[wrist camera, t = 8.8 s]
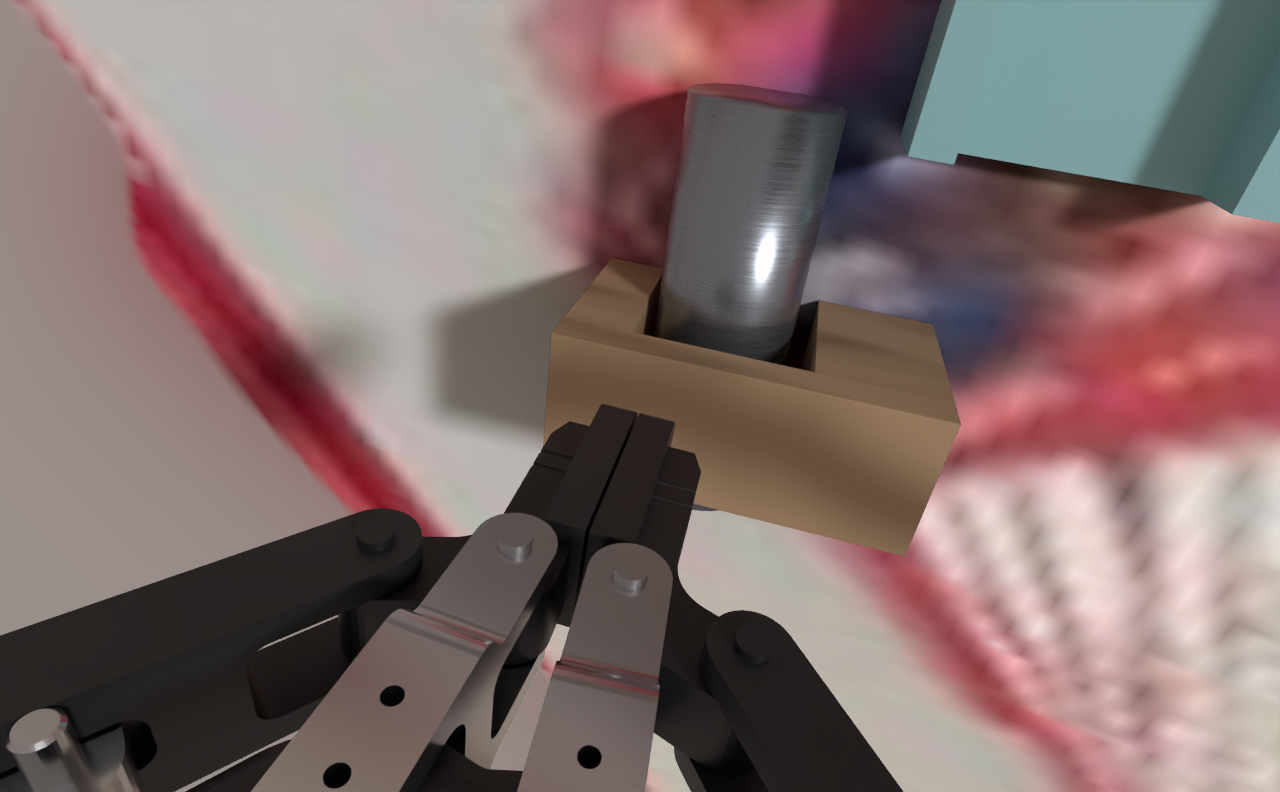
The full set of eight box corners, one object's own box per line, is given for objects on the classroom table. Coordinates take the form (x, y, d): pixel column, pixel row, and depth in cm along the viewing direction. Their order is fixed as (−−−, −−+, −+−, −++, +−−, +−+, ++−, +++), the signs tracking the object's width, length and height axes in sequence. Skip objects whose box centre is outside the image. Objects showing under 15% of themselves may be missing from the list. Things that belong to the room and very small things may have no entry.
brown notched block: (890, 438, 29) (904, 556, 23) (599, 371, 30) (541, 465, 24) (932, 324, 26) (960, 424, 20) (611, 257, 28) (551, 332, 22)
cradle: (1232, 195, 22) (1284, 223, 20) (899, 137, 24) (907, 156, 21) (1436, -174, 18) (1537, -200, 15) (1007, -221, 19) (1034, -252, 16)
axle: (766, 457, 30) (740, 526, 27) (658, 425, 32) (618, 487, 28) (855, 103, 23) (838, 125, 19) (711, 78, 24) (667, 94, 20)
